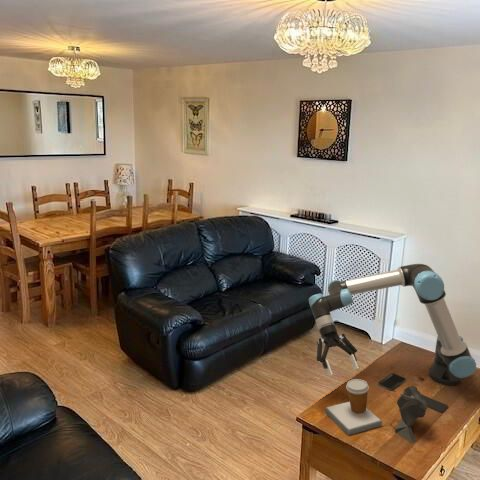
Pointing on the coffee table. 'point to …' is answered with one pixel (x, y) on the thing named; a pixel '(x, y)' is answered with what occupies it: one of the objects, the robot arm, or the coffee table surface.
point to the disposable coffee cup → (357, 394)
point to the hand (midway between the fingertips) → (343, 372)
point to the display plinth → (352, 418)
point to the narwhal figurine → (410, 411)
